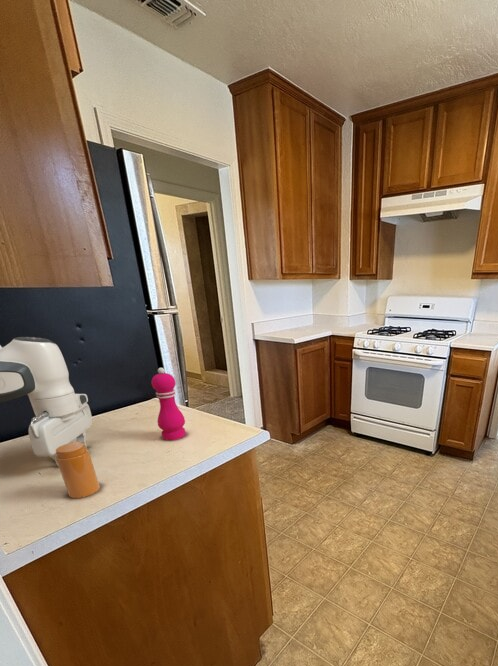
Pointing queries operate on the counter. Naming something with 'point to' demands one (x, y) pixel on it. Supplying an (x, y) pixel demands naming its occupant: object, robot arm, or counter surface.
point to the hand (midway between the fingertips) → (73, 456)
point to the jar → (77, 470)
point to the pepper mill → (168, 406)
